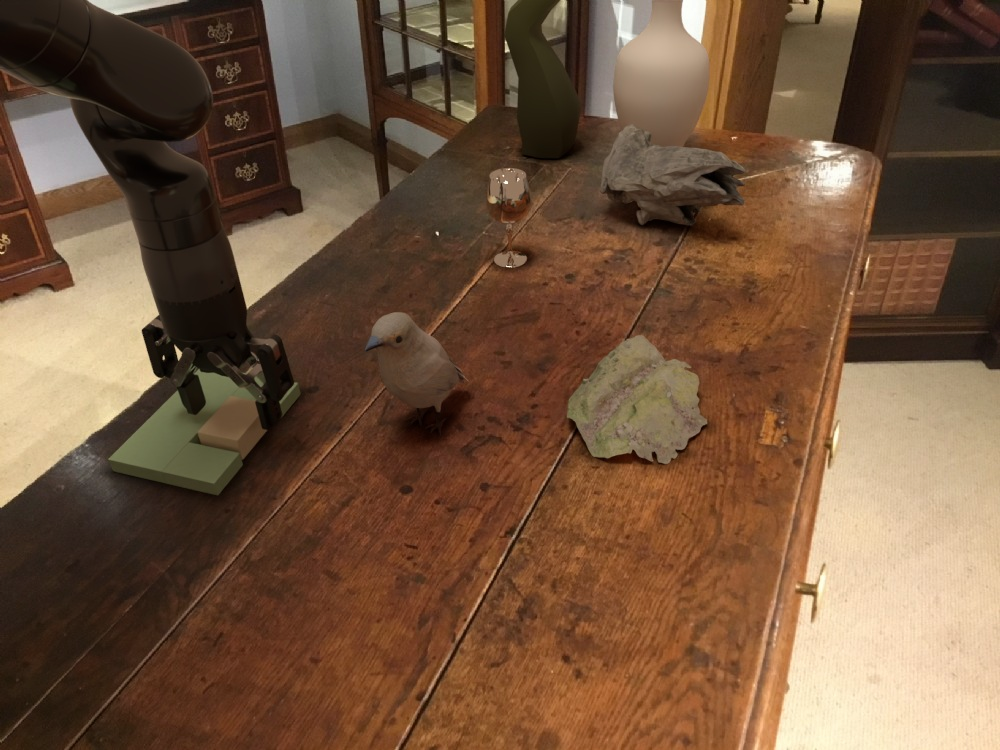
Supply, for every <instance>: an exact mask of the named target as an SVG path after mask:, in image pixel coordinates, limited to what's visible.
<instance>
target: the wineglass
mask: <svg viewBox="0 0 1000 750" xmlns="http://www.w3.org/2000/svg"><path fill="white" fill-rule="evenodd" d="M530 187H531V186H530V184H529V178H528V176H527V173H526V172H525V171H524V170H522V169H519V168H514V167H505V168H499V169H496V170H493V171H492V172H490V174H489V176H488V182H487V185H486V195H485V204H486V209H487V212H488V214H489V216H490V217H491V218H492V219H493V220H494V221H496V222H498V223H500V224H505V232H506V233H505V234H506V235H507V243H508V244H507V246H508V247H507V250H505V251H501V252H499V253H497V254H496V255H495V256H494V257H493V263H494V264H495V265H497V266H498V267H501V268H506V269H507V268H508V269H512V268H513V269H514V268H518V267H521V266H524V264H526V263H527V261H528V257H527V255H526V254H525V253H523V252H521V251H518V250H513V245H512V244H513V241H512V240H513V239H512V237H513V233H514V224H516V223H519V222H521V221H523V220H524V219H525V218H526V217H527V216H528V215H529V213H530V211H531V207H532V206H531V205H532V193H531V188H530Z"/></svg>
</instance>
